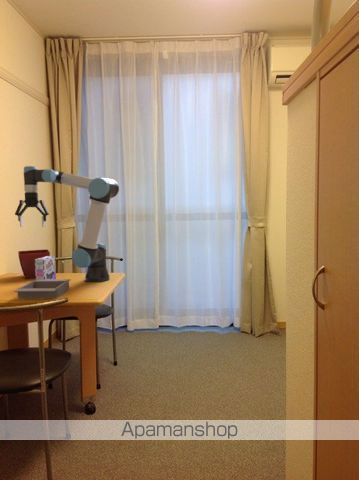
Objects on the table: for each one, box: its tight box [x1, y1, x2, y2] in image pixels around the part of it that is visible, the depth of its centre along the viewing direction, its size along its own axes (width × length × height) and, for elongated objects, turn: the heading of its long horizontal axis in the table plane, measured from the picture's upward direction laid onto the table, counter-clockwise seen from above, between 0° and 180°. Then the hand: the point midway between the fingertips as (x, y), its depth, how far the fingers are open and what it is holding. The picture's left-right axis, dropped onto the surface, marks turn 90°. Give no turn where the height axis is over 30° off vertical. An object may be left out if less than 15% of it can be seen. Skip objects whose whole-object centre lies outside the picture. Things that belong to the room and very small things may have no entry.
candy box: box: [35, 255, 57, 280], centre depth 224 cm, size 14×6×16 cm, turn 170°
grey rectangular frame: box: [13, 278, 72, 299], centre depth 202 cm, size 20×27×5 cm
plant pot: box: [17, 249, 51, 279], centre depth 250 cm, size 19×19×17 cm
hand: (32, 226), depth 231 cm, fingers open, 13 cm apart
